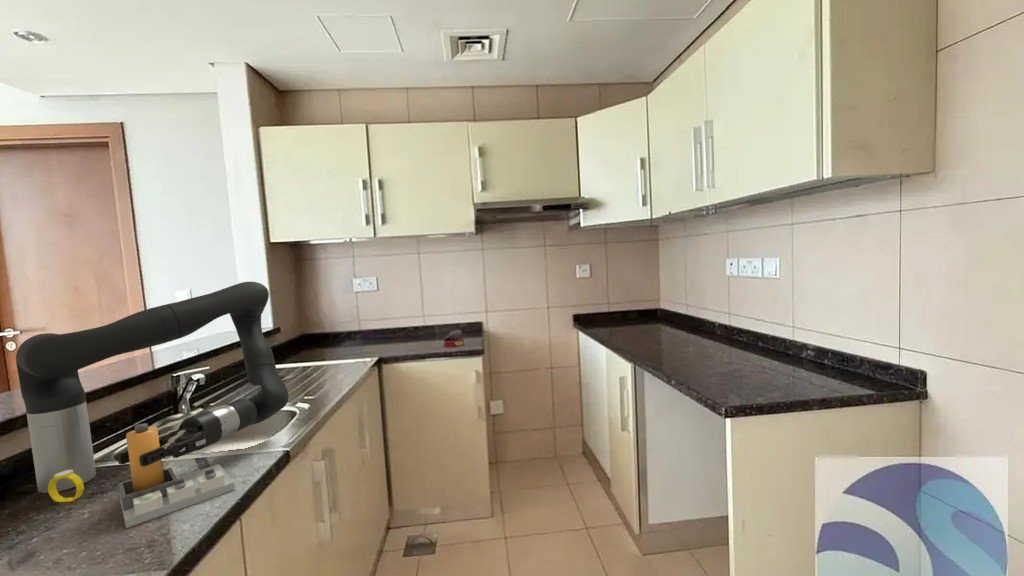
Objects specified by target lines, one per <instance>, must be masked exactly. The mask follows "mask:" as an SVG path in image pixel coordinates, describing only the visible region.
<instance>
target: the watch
mask: <svg viewBox="0 0 1024 576" xmlns="http://www.w3.org/2000/svg"><path fill="white" fill-rule="evenodd" d="M66 477H67V478H69V479H71V480H72V481H73V482H74V484H75V485H76V487H75V488H76V492H75V496H74V497H64V496H62V495H61V494H60V493H59V491H57V490H56V482H57V480H58V479H62V478H66ZM84 485H85V483H83V481H82V479H81V478H80V477H79V476H78V475H76V474H74V473H73V470H66V471H63V472H60V473H57V474H55V475H54V478H53V479H52V480H51V481H50V483H49V485H48V492H49V493H48V495H49V496H50V498H51V500H53V501H54V502H56V503H57V502H59V503H71V502H72V503H73V502H75V501H76V500H78V499H79V498H80V497H81V496H82V495H83V493H84V490H85V486H84Z"/></svg>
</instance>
